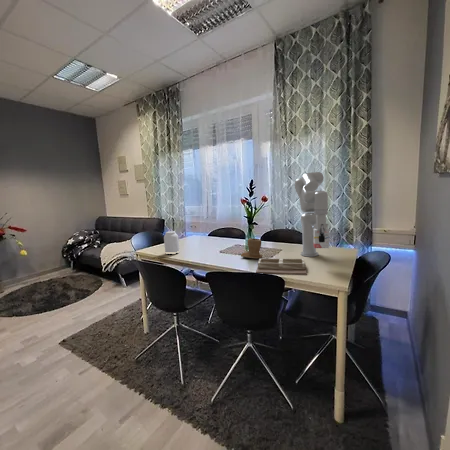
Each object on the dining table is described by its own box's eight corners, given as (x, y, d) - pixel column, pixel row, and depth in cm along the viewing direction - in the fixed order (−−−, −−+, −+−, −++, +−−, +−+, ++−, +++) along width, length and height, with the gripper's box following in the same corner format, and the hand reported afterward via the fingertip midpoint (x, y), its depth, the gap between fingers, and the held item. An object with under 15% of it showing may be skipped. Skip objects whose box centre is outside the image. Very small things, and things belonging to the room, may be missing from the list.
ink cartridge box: (314, 248, 148) (314, 225, 145) (313, 246, 152) (313, 223, 150) (329, 248, 146) (329, 224, 143) (327, 246, 150) (327, 223, 148)
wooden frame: (260, 261, 171) (259, 255, 171) (304, 262, 163) (303, 255, 163) (255, 273, 148) (255, 266, 148) (306, 274, 140) (306, 267, 140)
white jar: (180, 254, 209) (177, 231, 206) (165, 256, 206) (163, 233, 203) (179, 251, 221) (177, 229, 218) (165, 252, 218) (163, 231, 215)
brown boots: (265, 256, 184) (264, 237, 182) (257, 260, 174) (256, 240, 172) (248, 254, 193) (247, 236, 191) (240, 258, 183) (239, 239, 181)
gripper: (313, 210, 154) (313, 237, 157) (316, 214, 138) (316, 244, 141) (325, 209, 152) (325, 237, 155) (330, 213, 136) (329, 244, 139)
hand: (321, 240), depth 148 cm, fingers closed on ink cartridge box, 5 cm apart
